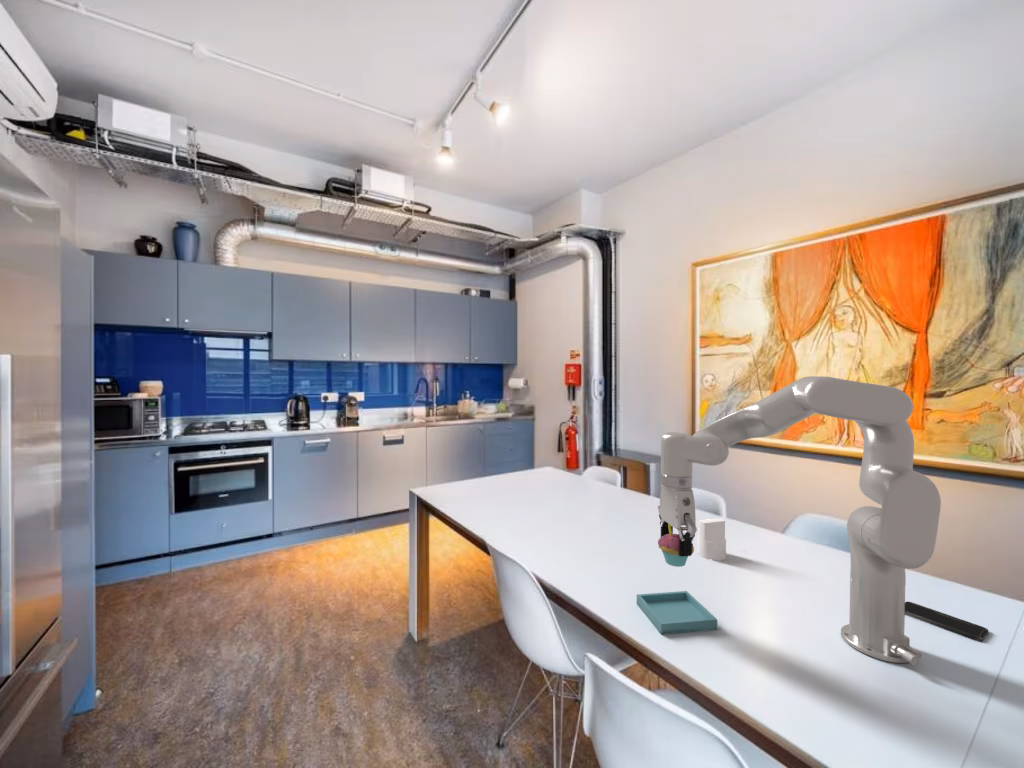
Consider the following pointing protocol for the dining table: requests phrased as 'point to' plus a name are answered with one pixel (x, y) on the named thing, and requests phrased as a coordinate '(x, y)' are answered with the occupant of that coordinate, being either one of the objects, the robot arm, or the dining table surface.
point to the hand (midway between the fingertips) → (675, 547)
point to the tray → (676, 612)
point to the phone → (946, 622)
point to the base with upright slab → (711, 539)
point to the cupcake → (672, 549)
